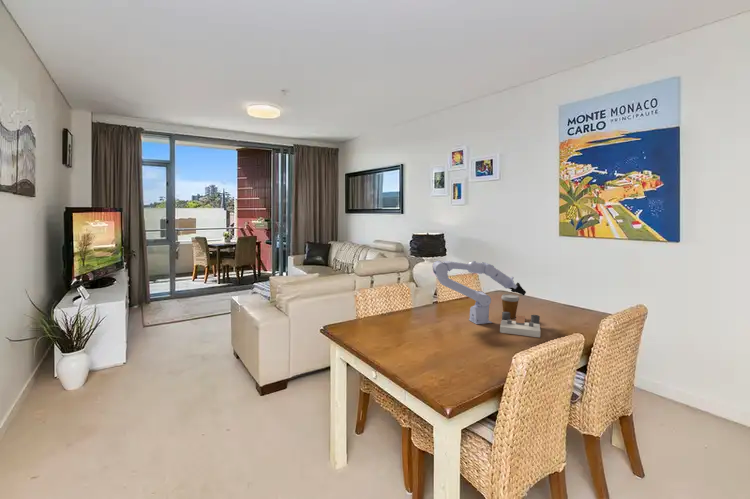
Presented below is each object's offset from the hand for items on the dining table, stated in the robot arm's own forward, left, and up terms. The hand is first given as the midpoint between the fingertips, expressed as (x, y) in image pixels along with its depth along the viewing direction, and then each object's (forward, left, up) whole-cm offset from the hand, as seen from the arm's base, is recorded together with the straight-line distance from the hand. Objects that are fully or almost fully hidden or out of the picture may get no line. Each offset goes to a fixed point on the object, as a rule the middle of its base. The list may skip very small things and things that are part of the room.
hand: (521, 292), depth 196 cm
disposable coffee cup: (0, +9, -16) cm, 18 cm away
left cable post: (-10, -1, -16) cm, 19 cm away
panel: (-10, -12, -16) cm, 23 cm away
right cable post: (+1, -10, -16) cm, 19 cm away
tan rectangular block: (-10, -12, -13) cm, 20 cm away
